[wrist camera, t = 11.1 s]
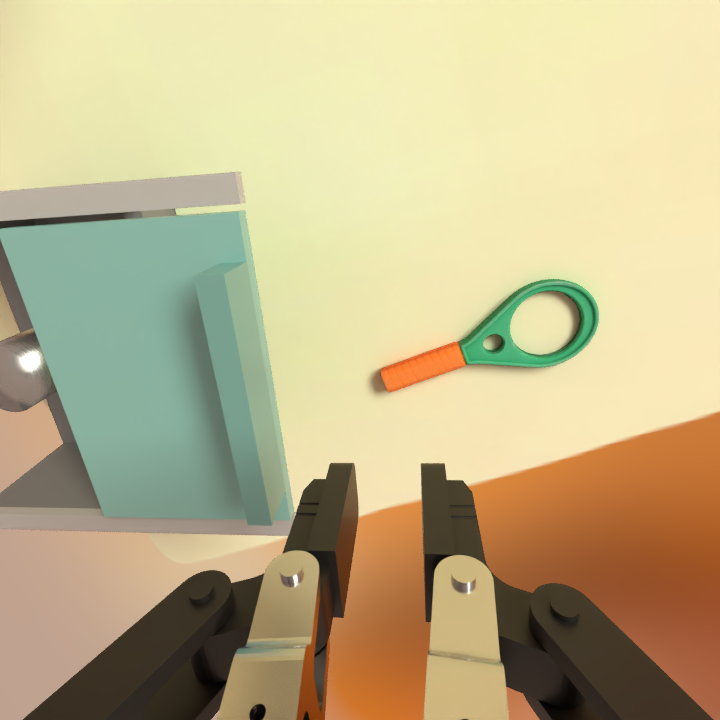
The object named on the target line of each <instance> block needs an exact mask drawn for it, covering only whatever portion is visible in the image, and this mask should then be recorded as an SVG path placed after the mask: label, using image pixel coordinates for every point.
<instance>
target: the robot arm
mask: <svg viewBox="0 0 720 720" xmlns="http://www.w3.org/2000/svg"><path fill="white" fill-rule="evenodd" d="M421 487H422V525H423V554H424V582H425V610H426V622H431V635H430V650H429V652H428V660H427V674H426V691H425V707H424V720H509V714H508V703H507V692H506V687H509V688H511V689H514V690H516V691H519V692H521V693H523V694H524V696H525V698H526V700H527V701H528V703H529V704H530V706H531V707H532V709H533V710H534V712H535V713H536V715H537V716H538V717H539V719H540V720H713V719H712V718H711V717H710V716H709V715H708V714H707V713H706V712H705V711H704V710H703V709H702V708H701V707H700V706H699V705H698V704H697V703H696V702H695V701H694V700H693V699H692V698H691V697H689V696H688V695H687V694H686V693H685V692H684V691H683V690H682V689H681V688H680V687H679V686H678V685H677V684H676V683H675V682H674V681H673V680H672V679H671V678H670V677H669V676H668V675H667V674H666V673H665V672H664V671H663V670H662V669H661V668H660V667H659V666H658V665H656V664H655V663H654V662H653V661H652V660H651V659H650V658H649V657H648V656H647V655H646V654H645V653H644V652H643V651H642V650H641V649H640V648H639V647H638V646H637V645H636V644H635V643H634V642H633V641H632V640H631V639H629V637H628V636H627V635H626V634H624V633H623V632H622V631H621V630H620V629H619V628H618V627H617V626H616V625H615V624H614V623H613V622H612V621H611V620H610V619H609V618H608V617H607V616H606V615H605V614H604V613H603V612H602V611H601V610H600V609H599V608H598V607H596V605H595V604H593V603H592V602H591V601H590V600H589V599H588V598H587V597H586V596H585V595H584V594H582V593H581V592H579V591H578V590H576V589H574V588H572V587H569V586H567V585H562V584H556V583H550V584H545V585H542V586H540V587H538V588H537V589H536V590H535V591H534V592H533V593H530V592H527V591H524V590H520V589H517V588H514V587H512V586H509V585H507V584H505V583H504V582H502V581H501V580H499V579H498V578H497V577H496V576H495V575H493V573H492V572H491V571H490V569H489V568H488V566H487V564H486V561H485V557H484V551H483V547H482V541H481V536H480V531H479V526H478V520H477V516H476V510H475V505H474V500H473V494H472V491H471V490H470V489H469V488H468V486H467V485H466V484H465V483H464V481H462V480H446V471H445V464H444V463H421ZM357 524H358V495H357V484H356V473H355V465H354V463H331V464H330V466H329V470H328V473H327V477H326V479H314V480H313V481H312V482H311V483H310V484H309V485H308V486H307V487H306V488H305V489H304V491H303V494H302V497H301V500H300V505H299V506H298V509H297V512H296V515H295V518H294V521H293V524H292V527H291V530H290V533H289V536H288V539H287V542H286V545H285V548H284V551H283V554H281V555H279V556H278V557H276V558H275V559H274V560H272V562H271V563H270V564H269V565H268V566H267V568H266V570H265V573H264V574H262V575H259V576H257V577H254V578H251V579H247V580H243V581H239V582H235V583H231V581H230V579H229V577H228V576H227V575H226V574H225V573H223V572H220V571H215V570H210V571H204V572H200V573H198V574H196V575H193V576H192V577H190V578H188V579H187V580H186V581H185V582H183V583H182V584H181V585H180V586H179V587H178V588H176V589H175V590H174V591H173V592H172V593H170V594H169V595H168V596H167V597H166V598H165V599H164V600H162V601H161V602H160V603H159V604H158V605H156V606H155V607H154V608H153V609H152V610H151V611H150V612H148V613H147V614H146V615H145V616H144V617H143V618H141V619H140V620H139V621H138V622H137V623H135V624H134V625H133V626H132V627H131V628H129V629H128V630H127V631H126V632H125V633H124V634H122V636H120V637H119V638H118V639H117V640H115V641H114V642H113V643H112V644H111V645H110V646H108V647H107V648H106V649H105V650H104V651H103V652H101V653H100V654H99V655H98V656H97V657H96V658H94V659H93V660H92V661H91V662H90V663H88V664H87V665H86V666H85V667H84V668H83V669H81V670H80V671H79V672H78V673H77V674H76V675H74V676H73V677H72V678H71V679H70V680H69V681H67V682H66V683H65V684H64V685H63V686H62V687H60V688H59V689H58V690H57V691H56V692H54V693H53V694H52V695H51V696H50V697H49V698H48V699H46V700H45V701H44V702H43V703H42V704H40V705H39V706H38V707H37V708H36V709H35V710H34V711H32V712H31V713H30V714H29V715H28V716H26V717H25V718H24V719H23V720H211V719H212V718H213V717H214V715H215V714H216V713H217V712H218V710H219V709H220V710H219V714H218V717H217V720H325V710H326V695H327V681H328V680H327V679H328V667H329V653H330V638H329V636H330V631H331V625H332V620H333V617H340V618H343V617H344V611H345V604H346V598H347V591H348V584H349V577H350V571H351V564H352V557H353V551H354V544H355V537H356V531H357Z"/></svg>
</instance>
